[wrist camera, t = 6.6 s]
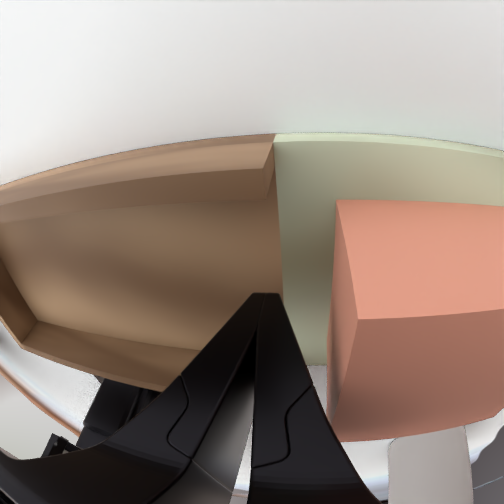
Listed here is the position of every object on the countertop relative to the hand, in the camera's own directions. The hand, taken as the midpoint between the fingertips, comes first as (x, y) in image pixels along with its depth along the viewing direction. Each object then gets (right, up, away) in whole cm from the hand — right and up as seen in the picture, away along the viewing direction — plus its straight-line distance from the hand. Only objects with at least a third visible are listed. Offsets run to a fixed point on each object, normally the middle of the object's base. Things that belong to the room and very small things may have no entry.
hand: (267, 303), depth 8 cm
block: (+5, +1, 0) cm, 5 cm away
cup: (+16, -15, +10) cm, 24 cm away
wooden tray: (-3, +1, +2) cm, 4 cm away
